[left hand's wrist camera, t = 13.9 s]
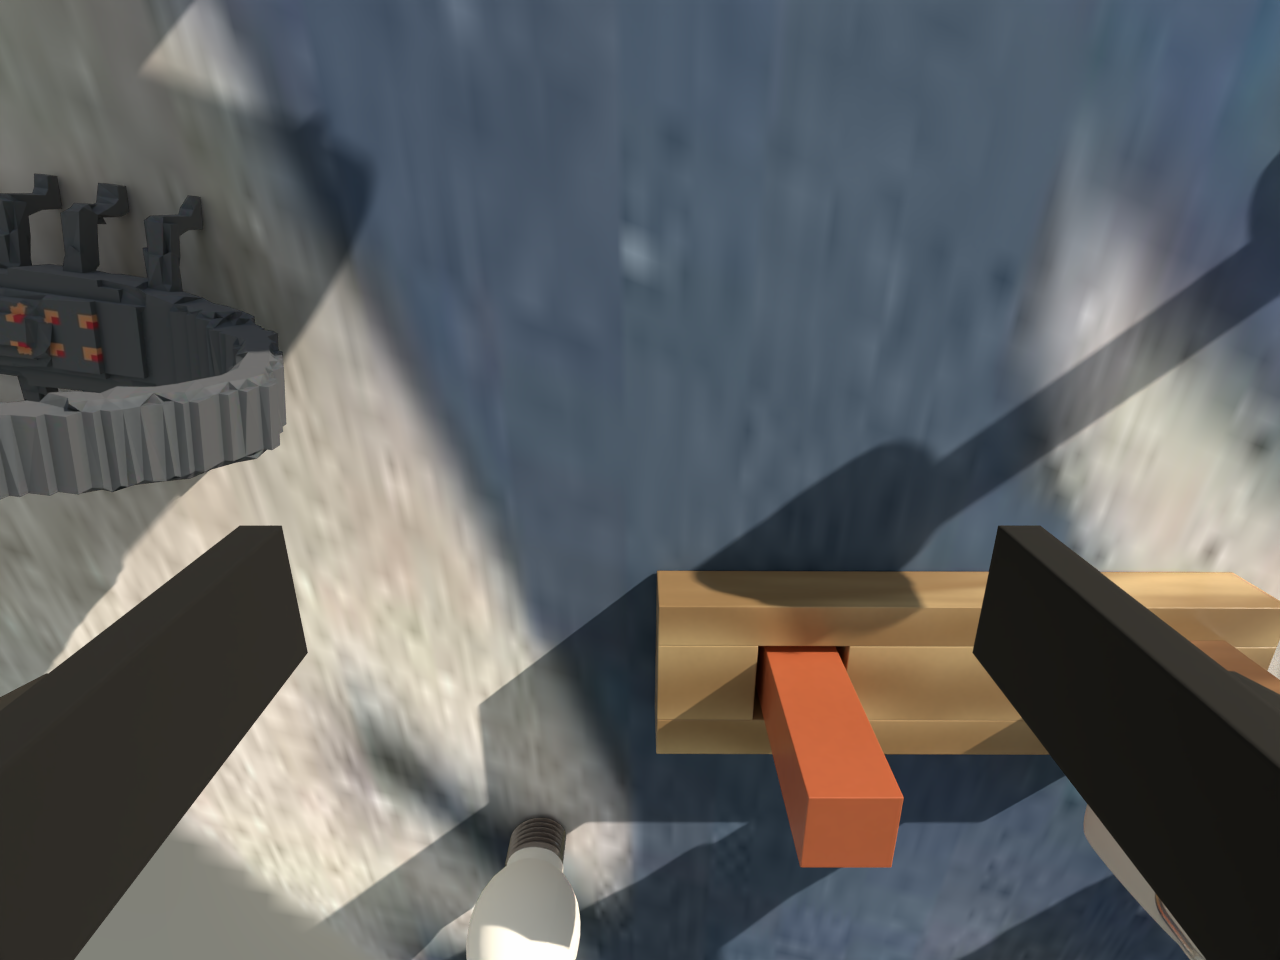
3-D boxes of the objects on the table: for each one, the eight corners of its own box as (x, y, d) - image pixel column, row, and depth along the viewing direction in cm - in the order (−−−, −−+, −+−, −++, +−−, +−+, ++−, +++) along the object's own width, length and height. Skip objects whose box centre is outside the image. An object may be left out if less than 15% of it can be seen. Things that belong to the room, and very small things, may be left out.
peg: (755, 615, 42) (808, 797, 29) (821, 615, 42) (904, 797, 29) (751, 670, 43) (800, 868, 30) (815, 670, 43) (891, 868, 30)
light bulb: (526, 786, 46) (493, 950, 36) (607, 832, 48) (598, 1001, 37) (472, 846, 48) (426, 1017, 38) (551, 888, 50) (528, 1064, 39)
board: (656, 570, 41) (663, 705, 29) (1232, 572, 41) (1458, 707, 29) (654, 708, 44) (660, 876, 33) (1183, 710, 44) (1369, 877, 33)
